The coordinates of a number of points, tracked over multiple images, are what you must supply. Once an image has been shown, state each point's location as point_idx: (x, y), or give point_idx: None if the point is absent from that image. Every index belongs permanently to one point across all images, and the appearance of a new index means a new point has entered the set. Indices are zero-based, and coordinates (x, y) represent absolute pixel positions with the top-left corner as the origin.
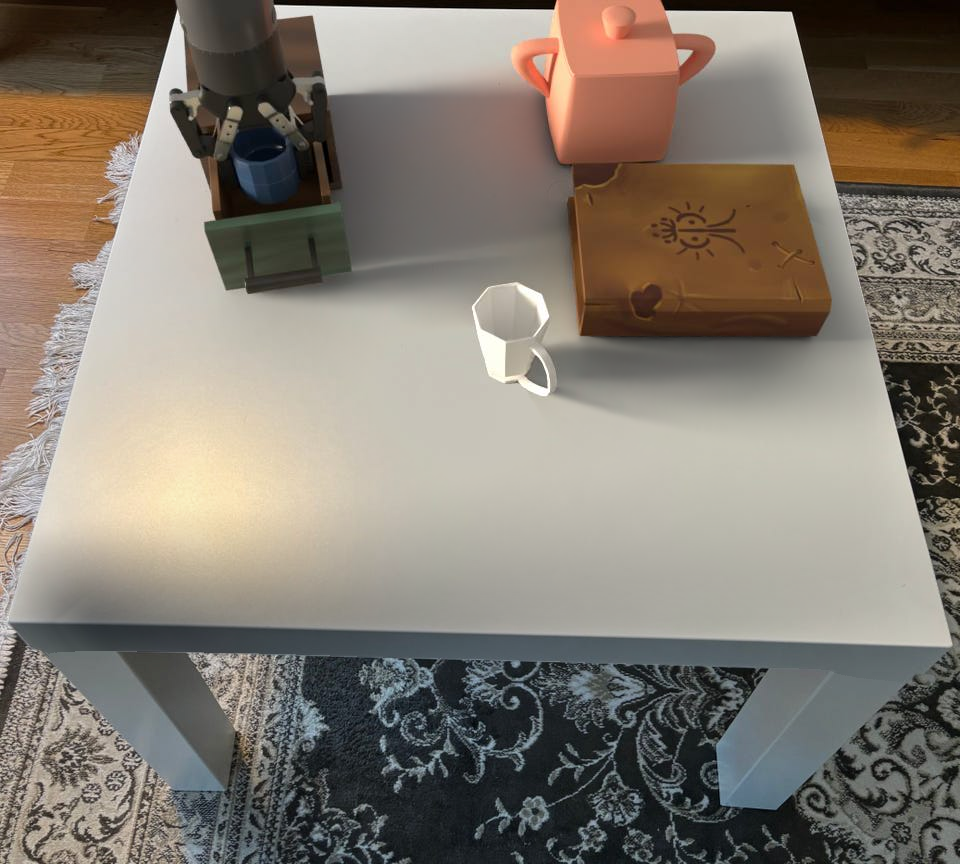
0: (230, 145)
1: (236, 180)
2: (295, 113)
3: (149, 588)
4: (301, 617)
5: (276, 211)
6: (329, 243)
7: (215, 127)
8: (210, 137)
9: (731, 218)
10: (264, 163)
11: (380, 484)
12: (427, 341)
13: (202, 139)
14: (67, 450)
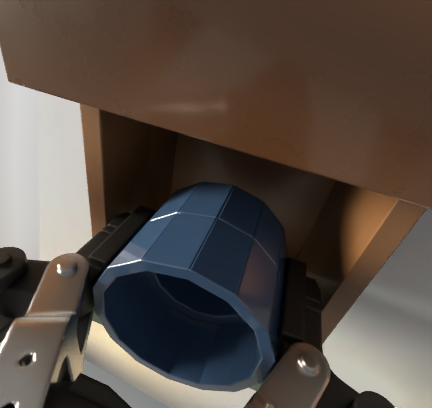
0: (84, 352)
1: None
2: (372, 184)
3: (96, 358)
4: (166, 404)
5: (244, 167)
6: None
7: (31, 306)
8: (32, 296)
9: None
10: (171, 378)
11: (229, 397)
12: (329, 364)
13: (10, 302)
14: None
